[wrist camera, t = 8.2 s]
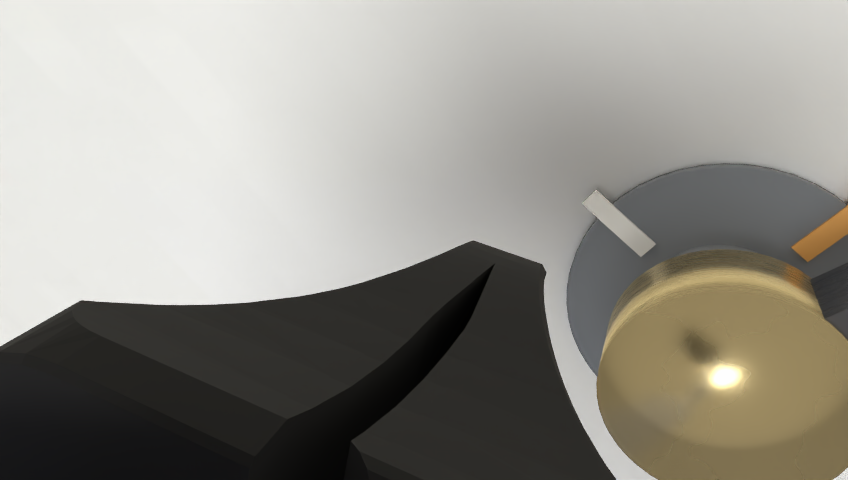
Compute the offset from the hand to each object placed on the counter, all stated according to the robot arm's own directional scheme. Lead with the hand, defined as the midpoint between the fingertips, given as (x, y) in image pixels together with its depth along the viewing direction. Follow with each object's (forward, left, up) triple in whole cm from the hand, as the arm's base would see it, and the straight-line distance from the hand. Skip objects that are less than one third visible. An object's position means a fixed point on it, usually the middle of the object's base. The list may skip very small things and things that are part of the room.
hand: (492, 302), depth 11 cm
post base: (-5, -4, -10) cm, 12 cm away
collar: (-3, -7, -7) cm, 10 cm away
